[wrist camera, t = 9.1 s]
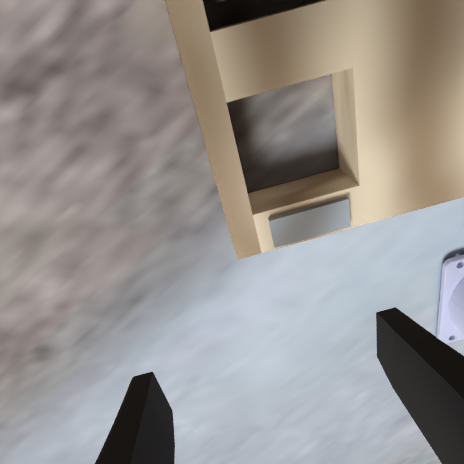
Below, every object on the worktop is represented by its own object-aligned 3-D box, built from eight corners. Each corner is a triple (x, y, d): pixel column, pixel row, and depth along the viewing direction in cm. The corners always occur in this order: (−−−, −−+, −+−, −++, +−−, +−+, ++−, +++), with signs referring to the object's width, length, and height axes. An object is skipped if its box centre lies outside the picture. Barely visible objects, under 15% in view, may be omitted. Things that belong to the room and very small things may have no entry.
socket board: (516, -334, 12) (604, -426, 9) (463, 171, 21) (501, 190, 19) (103, -222, 12) (85, -285, 9) (230, 235, 21) (238, 263, 19)
